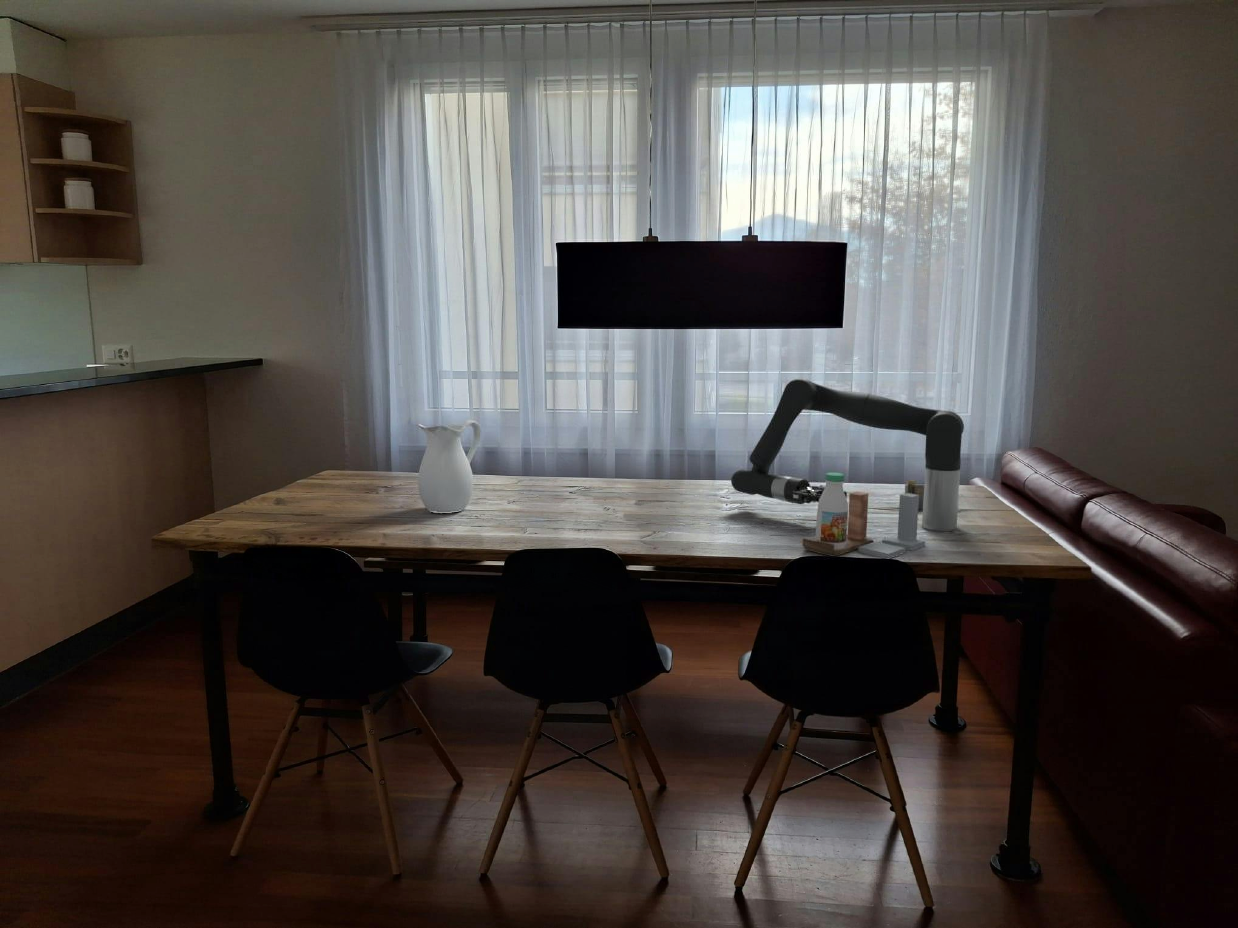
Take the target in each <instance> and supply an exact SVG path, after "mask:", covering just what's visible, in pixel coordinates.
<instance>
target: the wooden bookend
mask: <svg viewBox="0 0 1238 928" xmlns="http://www.w3.org/2000/svg"><path fill="white" fill-rule="evenodd" d="M848 495H849V501H848V502H849V503H848V520H847V536H846V547H845V548H844V549H839V550H834V545H833V544H829V543H824V542H820V541H816V540H815V539H812V538H811V539H810V538H806V537H803V538H802V547H804V550H805V551H810V552H815V553H818V554H823V555H827V556H831V557H836V556H840V555H842V554H845V553H848V552H851V551H854V550H855V551H856V550H857V549H858V550H859V547H860V546H863V545H866V544H869V543H873V542H874V539H870V538H867V529H868V528H867V527H868V513H869V512H868V509H869V493H867V492H861V491H854V492H850V493H849V494H848Z"/></svg>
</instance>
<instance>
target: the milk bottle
mask: <svg viewBox="0 0 1238 928" xmlns="http://www.w3.org/2000/svg"><path fill="white" fill-rule="evenodd" d="M844 480H845V474H843V473H841V472H826V473H825V485H824V486H825V489H824V492H823V493H822V495H821V497H820V499H819V502H817V503H818V504H817V510H816V522H815V524H816V525H815V539H814V540H816V541H820V542H824V543H829V544H833V545H834V550H839V549H844V548H845V547H846V536H847V534H848V517H849V503H848V500H847V498H846V496H845V494H844V491H845V490H844V487H843V484H844V482H845V481H844Z"/></svg>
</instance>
